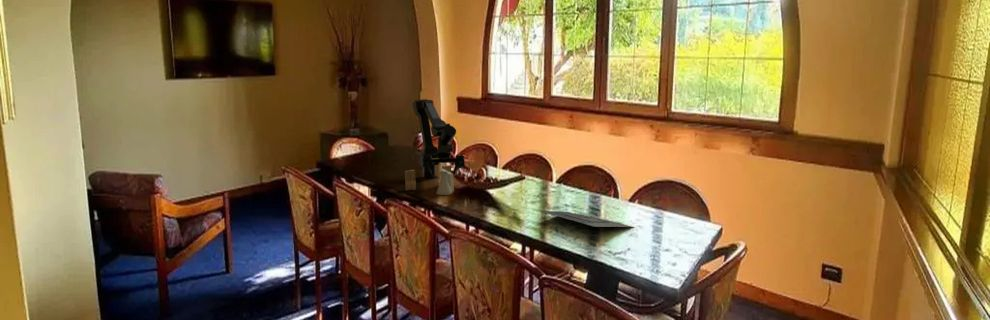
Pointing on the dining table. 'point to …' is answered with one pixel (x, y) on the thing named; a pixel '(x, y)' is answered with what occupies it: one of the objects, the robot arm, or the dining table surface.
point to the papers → (585, 219)
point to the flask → (444, 185)
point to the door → (449, 179)
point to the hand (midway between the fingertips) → (443, 177)
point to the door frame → (411, 180)
